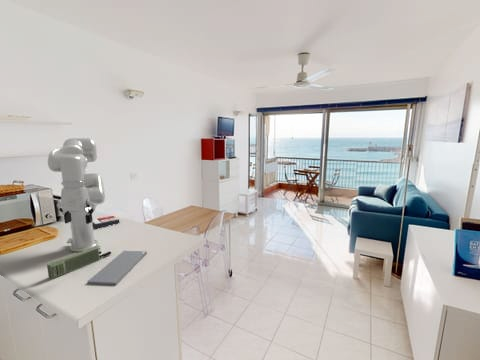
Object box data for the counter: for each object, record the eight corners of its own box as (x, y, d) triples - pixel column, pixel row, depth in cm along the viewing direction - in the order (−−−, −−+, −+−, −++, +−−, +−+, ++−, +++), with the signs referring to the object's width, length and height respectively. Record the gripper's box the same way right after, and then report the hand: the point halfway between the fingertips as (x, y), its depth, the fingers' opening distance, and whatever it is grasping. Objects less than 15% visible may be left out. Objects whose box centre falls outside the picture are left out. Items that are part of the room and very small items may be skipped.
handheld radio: (48, 277, 98) (109, 253, 118) (51, 280, 96) (112, 255, 116) (46, 263, 97) (108, 241, 117) (48, 265, 95) (111, 243, 115)
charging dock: (87, 283, 94) (87, 281, 93) (124, 252, 119) (123, 250, 119) (116, 285, 93) (116, 282, 92) (146, 253, 118) (146, 251, 118)
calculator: (119, 218, 160) (94, 223, 149) (119, 224, 160) (95, 229, 149) (113, 215, 167) (89, 219, 156) (113, 221, 168) (89, 225, 157)
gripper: (47, 186, 98) (53, 225, 101) (87, 186, 97) (91, 226, 100) (61, 182, 105) (66, 219, 108) (99, 183, 104) (103, 220, 107)
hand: (78, 222), depth 104 cm, fingers open, 9 cm apart
